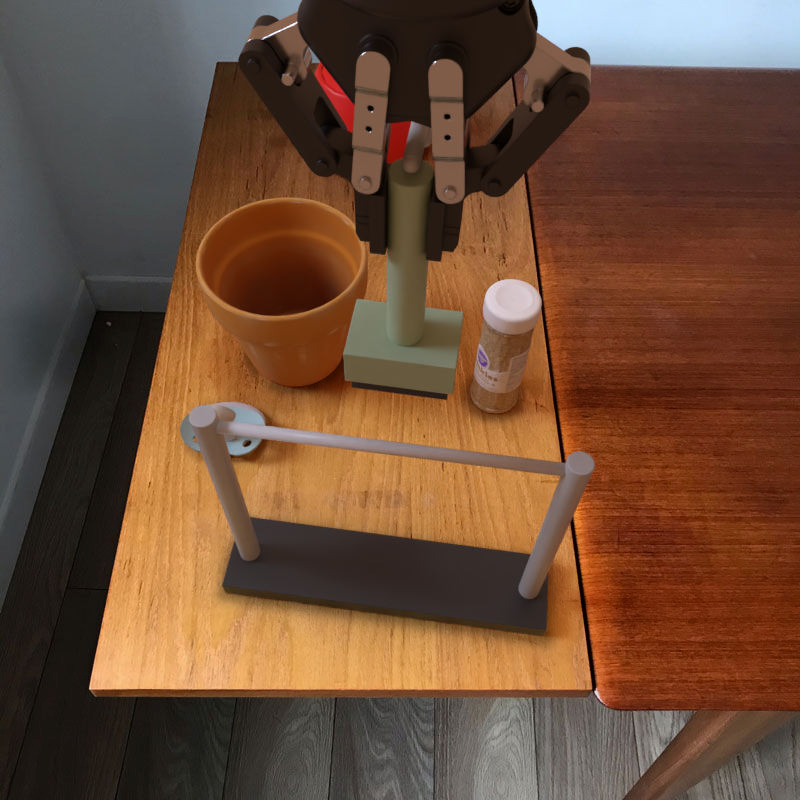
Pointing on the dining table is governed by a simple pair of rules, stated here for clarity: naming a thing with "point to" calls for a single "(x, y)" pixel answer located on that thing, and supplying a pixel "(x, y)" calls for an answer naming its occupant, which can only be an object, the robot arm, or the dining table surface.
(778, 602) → the dining table surface
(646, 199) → the dining table surface
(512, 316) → the sprinkles bottle
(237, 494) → the rack
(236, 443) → the pacifier
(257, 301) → the flower pot
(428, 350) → the peg on square base
